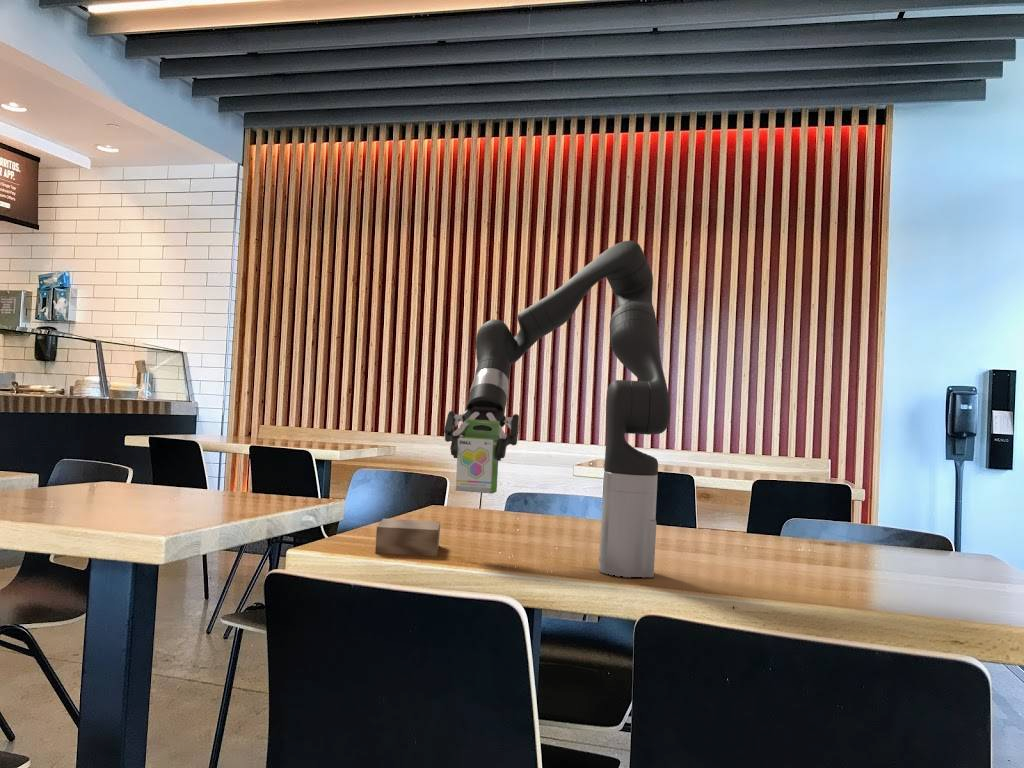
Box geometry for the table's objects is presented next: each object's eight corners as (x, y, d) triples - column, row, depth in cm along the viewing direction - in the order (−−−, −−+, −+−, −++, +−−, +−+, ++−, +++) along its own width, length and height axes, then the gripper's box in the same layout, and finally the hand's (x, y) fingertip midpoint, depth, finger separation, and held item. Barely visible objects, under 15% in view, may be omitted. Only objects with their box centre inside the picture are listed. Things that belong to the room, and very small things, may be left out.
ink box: (454, 491, 149) (458, 418, 149) (462, 489, 152) (466, 418, 153) (490, 494, 147) (494, 420, 147) (497, 492, 150) (501, 420, 151)
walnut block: (438, 547, 156) (440, 521, 156) (436, 557, 145) (438, 529, 145) (381, 544, 155) (383, 518, 156) (375, 554, 144) (376, 526, 145)
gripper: (524, 411, 162) (515, 472, 150) (454, 407, 164) (440, 467, 152) (523, 383, 157) (514, 444, 145) (451, 380, 159) (436, 440, 147)
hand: (476, 456), depth 148 cm, fingers closed on ink box, 7 cm apart
